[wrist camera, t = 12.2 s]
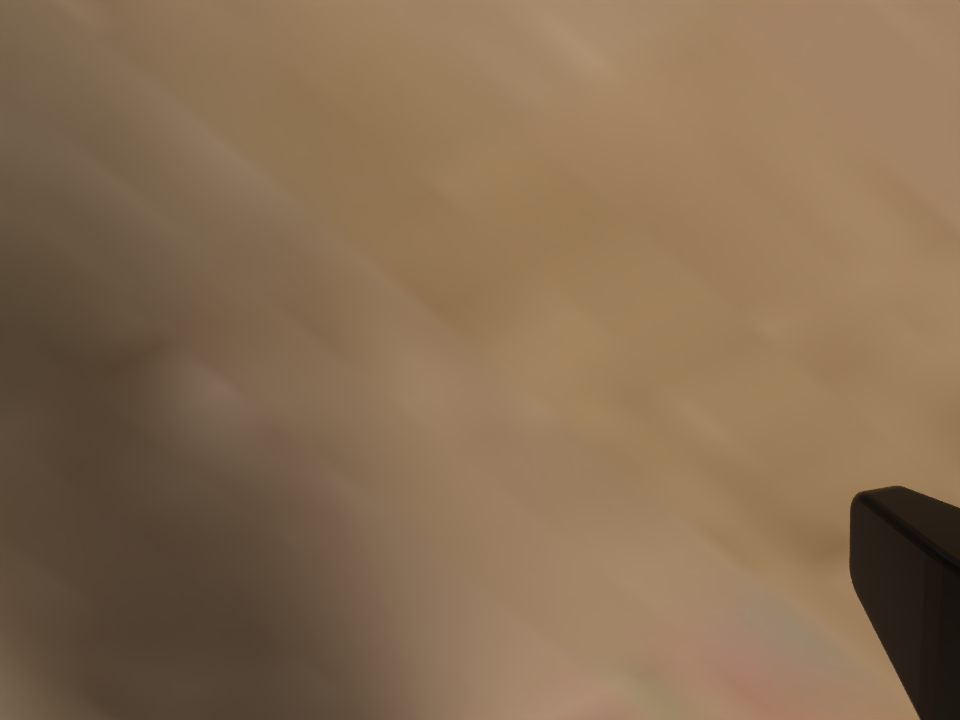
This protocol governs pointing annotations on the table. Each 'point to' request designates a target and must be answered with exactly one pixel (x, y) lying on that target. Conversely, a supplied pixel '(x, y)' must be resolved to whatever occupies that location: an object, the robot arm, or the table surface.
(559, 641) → the table surface
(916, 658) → the robot arm
